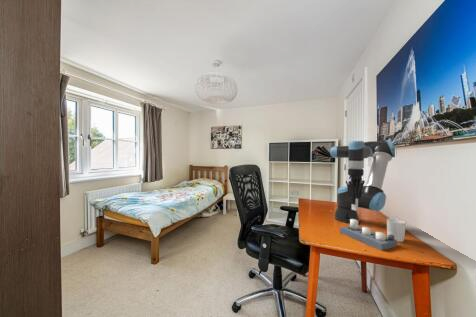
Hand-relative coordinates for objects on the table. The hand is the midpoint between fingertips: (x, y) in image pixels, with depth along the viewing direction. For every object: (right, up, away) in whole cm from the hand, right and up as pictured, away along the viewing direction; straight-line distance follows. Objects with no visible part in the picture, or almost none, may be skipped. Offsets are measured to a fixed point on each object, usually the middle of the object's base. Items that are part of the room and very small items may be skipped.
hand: (354, 209), depth 108 cm
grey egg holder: (+2, -14, -6) cm, 15 cm away
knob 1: (0, -11, 0) cm, 11 cm away
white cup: (+19, -15, -6) cm, 24 cm away
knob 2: (+5, -13, -13) cm, 19 cm away
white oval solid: (+2, -13, -6) cm, 15 cm away
